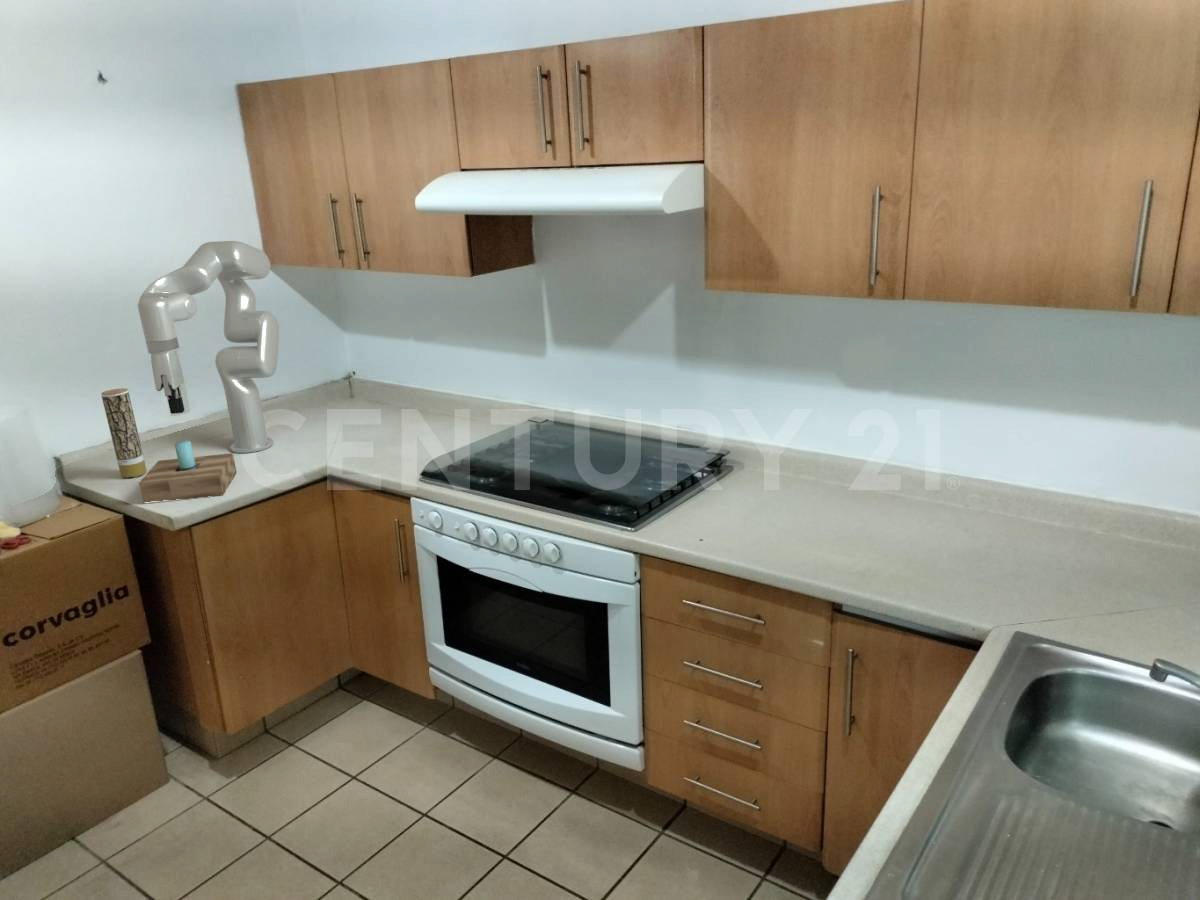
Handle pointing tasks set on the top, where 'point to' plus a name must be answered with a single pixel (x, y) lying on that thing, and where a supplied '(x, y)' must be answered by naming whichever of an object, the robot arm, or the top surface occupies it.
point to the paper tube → (124, 432)
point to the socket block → (188, 478)
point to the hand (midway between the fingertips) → (177, 412)
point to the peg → (185, 456)
